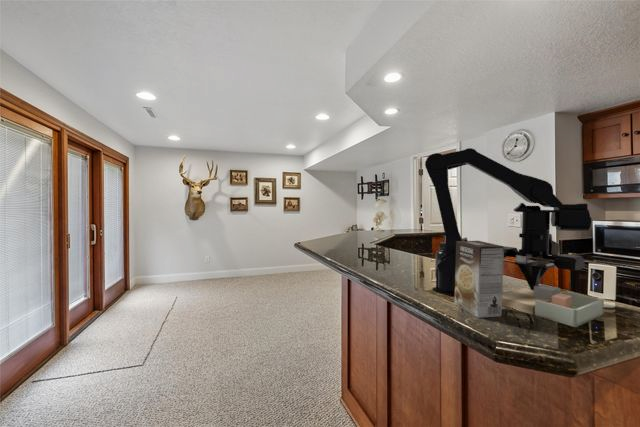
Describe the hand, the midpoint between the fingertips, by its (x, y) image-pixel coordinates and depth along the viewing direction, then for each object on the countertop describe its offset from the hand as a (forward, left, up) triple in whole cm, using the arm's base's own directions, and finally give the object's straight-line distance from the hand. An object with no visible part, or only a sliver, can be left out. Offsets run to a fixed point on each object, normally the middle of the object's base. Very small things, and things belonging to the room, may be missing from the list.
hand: (533, 290), depth 77 cm
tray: (+9, -3, -3) cm, 10 cm away
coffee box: (-3, -19, -3) cm, 19 cm away
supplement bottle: (-26, 0, -3) cm, 27 cm away
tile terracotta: (+7, -5, -1) cm, 9 cm away
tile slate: (+3, 0, -1) cm, 3 cm away
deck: (0, -3, -3) cm, 4 cm away
